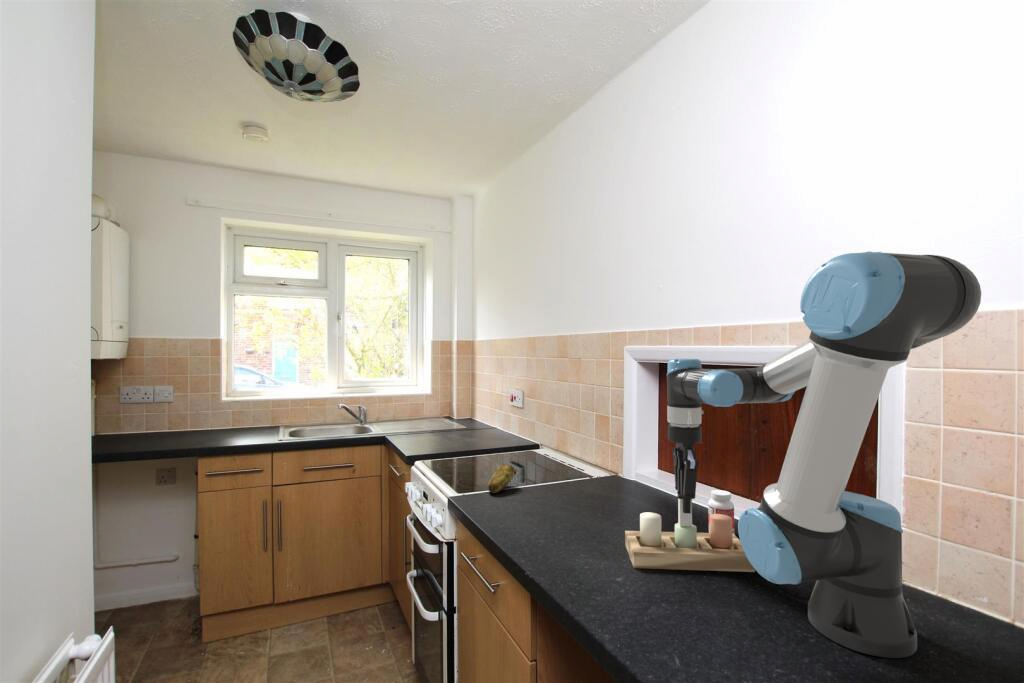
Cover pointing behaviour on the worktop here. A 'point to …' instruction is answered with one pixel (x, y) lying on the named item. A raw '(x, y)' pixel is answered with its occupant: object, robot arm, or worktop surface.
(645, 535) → the button cream
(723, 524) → the button terracotta
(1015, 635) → the worktop surface
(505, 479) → the potato
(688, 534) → the button green
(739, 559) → the board
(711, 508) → the pill bottle
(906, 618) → the robot arm
